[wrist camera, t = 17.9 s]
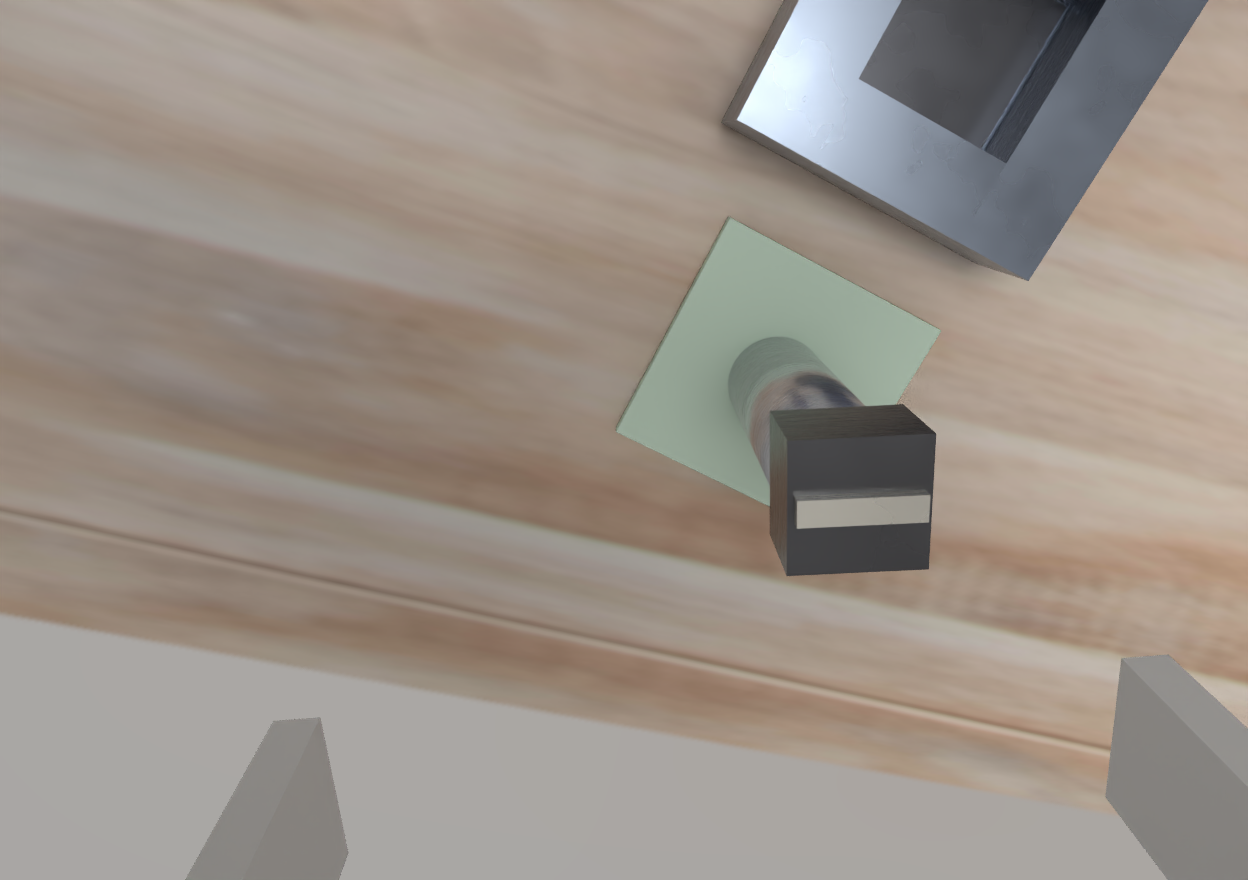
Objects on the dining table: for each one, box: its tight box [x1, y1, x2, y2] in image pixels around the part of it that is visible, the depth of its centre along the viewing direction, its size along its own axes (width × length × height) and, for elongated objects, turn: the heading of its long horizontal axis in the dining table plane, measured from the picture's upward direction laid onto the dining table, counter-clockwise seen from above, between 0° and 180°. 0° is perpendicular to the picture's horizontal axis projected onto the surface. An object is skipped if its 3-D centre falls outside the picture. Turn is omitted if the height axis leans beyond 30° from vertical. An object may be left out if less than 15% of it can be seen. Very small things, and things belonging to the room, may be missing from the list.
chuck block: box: [721, 0, 1208, 281], centre depth 33 cm, size 12×12×5 cm
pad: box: [616, 217, 941, 507], centre depth 39 cm, size 10×10×1 cm
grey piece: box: [728, 337, 936, 576], centre depth 32 cm, size 4×4×14 cm
